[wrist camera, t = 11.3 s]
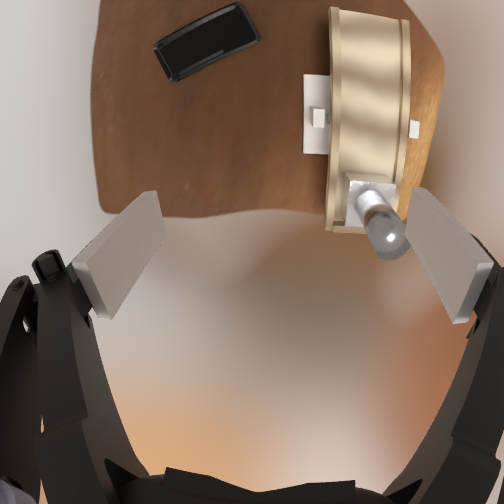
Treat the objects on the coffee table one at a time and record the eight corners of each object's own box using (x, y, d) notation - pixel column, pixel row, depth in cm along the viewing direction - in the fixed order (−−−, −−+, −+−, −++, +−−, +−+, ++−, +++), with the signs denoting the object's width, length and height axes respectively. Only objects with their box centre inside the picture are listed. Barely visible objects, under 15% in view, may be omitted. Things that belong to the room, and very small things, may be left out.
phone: (151, 45, 33) (240, 0, 29) (154, 46, 34) (241, 2, 30) (171, 84, 37) (262, 41, 32) (174, 84, 38) (263, 42, 33)
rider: (344, 171, 35) (369, 212, 24) (386, 174, 34) (425, 216, 24) (340, 212, 38) (359, 267, 27) (380, 215, 38) (411, 268, 27)
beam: (323, 15, 27) (328, 5, 23) (398, 26, 26) (412, 20, 21) (320, 215, 43) (323, 231, 38) (385, 219, 42) (395, 235, 37)
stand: (303, 74, 35) (306, 71, 29) (406, 87, 33) (426, 88, 27) (301, 203, 46) (303, 222, 40) (394, 208, 44) (408, 227, 38)
